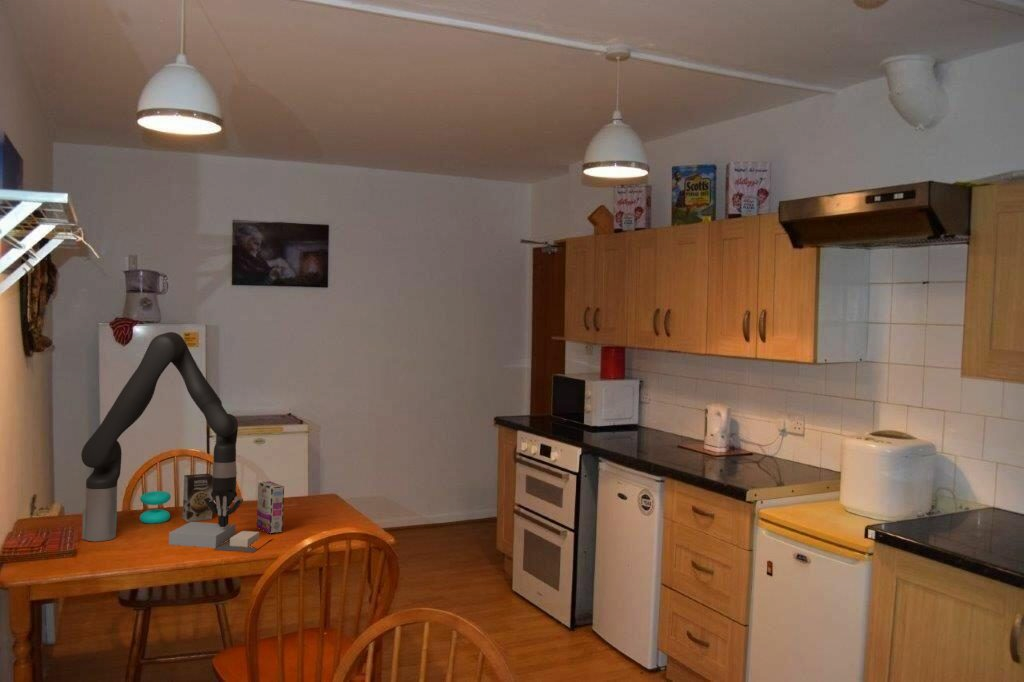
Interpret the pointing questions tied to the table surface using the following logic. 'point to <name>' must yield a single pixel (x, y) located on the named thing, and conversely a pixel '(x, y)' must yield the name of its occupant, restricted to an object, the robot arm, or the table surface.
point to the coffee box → (197, 497)
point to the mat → (234, 548)
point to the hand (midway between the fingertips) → (223, 526)
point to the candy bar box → (270, 507)
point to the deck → (201, 534)
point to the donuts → (155, 514)
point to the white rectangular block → (244, 538)
